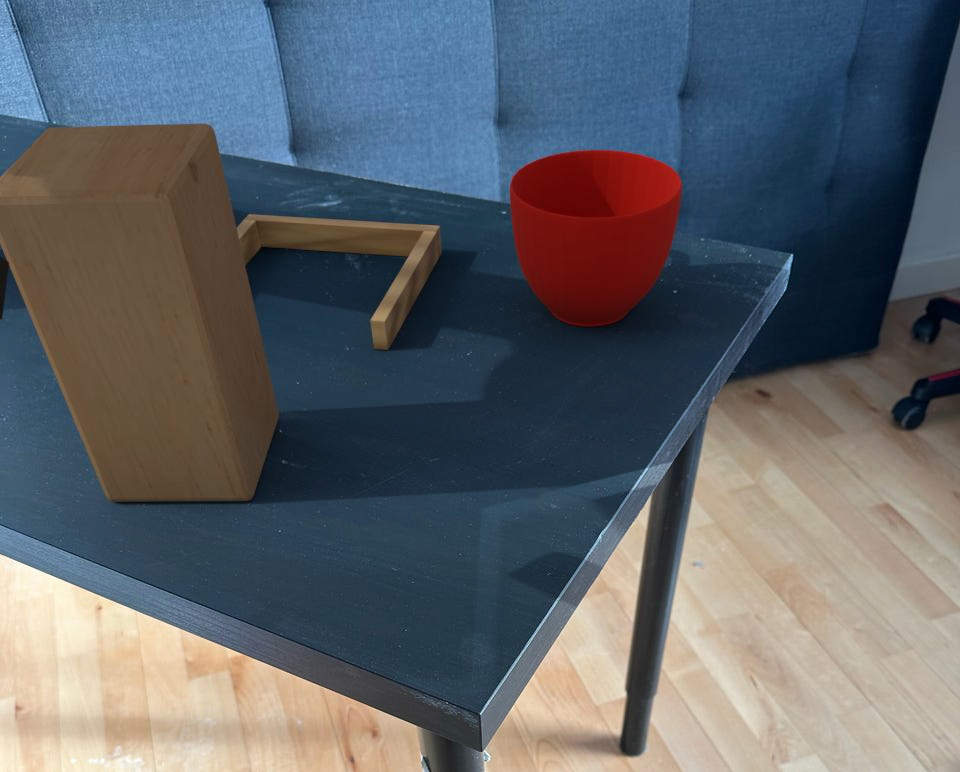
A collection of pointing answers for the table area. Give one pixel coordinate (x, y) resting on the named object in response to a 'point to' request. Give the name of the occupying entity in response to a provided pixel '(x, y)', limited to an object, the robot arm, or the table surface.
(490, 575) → the table surface
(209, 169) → the wooden block
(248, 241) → the frame
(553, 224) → the ceramic cup
